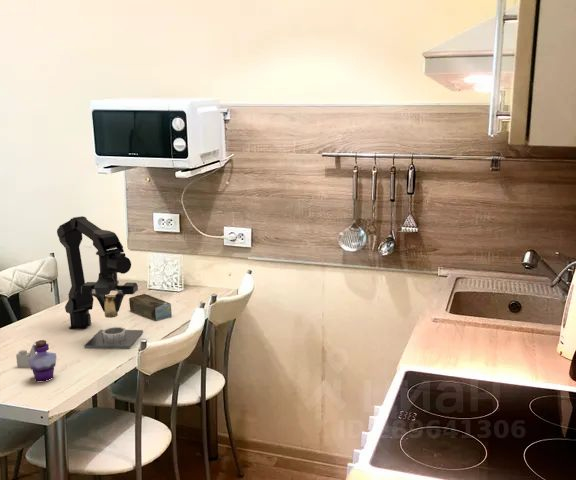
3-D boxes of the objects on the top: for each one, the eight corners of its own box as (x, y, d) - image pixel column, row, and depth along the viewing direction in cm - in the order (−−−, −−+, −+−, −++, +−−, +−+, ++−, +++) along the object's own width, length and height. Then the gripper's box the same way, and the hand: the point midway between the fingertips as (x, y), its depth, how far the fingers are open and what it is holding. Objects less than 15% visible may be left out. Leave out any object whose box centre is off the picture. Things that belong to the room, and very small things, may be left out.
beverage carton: (155, 322, 243) (154, 306, 242) (128, 312, 257) (127, 296, 255) (172, 317, 249) (171, 301, 248) (145, 307, 262) (144, 292, 261)
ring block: (84, 348, 217) (83, 338, 216) (100, 332, 232) (100, 323, 232) (129, 348, 216) (129, 339, 215) (143, 332, 231) (142, 323, 231)
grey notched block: (17, 367, 201) (14, 343, 199) (19, 365, 203) (17, 341, 201) (39, 367, 201) (37, 343, 199) (41, 365, 203) (39, 341, 201)
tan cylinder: (103, 317, 220) (101, 298, 218) (107, 313, 224) (106, 294, 223) (115, 317, 219) (114, 298, 218) (119, 313, 224) (118, 294, 222)
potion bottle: (35, 372, 197) (31, 336, 194) (63, 372, 197) (59, 336, 194) (24, 384, 188) (20, 346, 186) (53, 384, 188) (50, 346, 186)
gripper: (72, 274, 211) (76, 318, 214) (127, 274, 210) (129, 319, 213) (85, 266, 222) (88, 308, 225) (137, 266, 221) (139, 309, 224)
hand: (111, 311), depth 221 cm, fingers closed on tan cylinder, 4 cm apart
